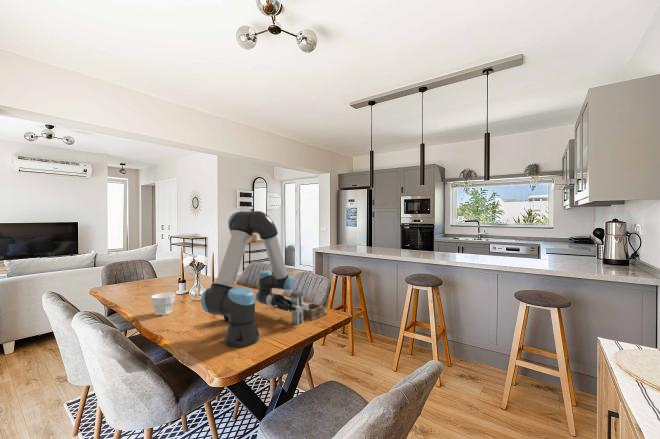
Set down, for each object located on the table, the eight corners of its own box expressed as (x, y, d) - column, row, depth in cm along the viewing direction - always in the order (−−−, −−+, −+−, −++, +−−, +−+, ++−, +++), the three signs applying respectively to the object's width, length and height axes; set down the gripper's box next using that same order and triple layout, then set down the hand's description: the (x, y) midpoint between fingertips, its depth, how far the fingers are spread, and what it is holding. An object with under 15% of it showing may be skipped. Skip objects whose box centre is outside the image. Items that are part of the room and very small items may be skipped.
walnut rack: (312, 320, 159) (312, 311, 159) (297, 315, 167) (297, 307, 167) (326, 314, 168) (326, 305, 168) (311, 310, 176) (311, 302, 176)
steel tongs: (297, 324, 153) (296, 294, 153) (290, 322, 157) (289, 292, 157) (303, 322, 157) (302, 292, 156) (296, 320, 160) (295, 290, 160)
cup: (180, 311, 177) (179, 293, 177) (160, 318, 166) (160, 299, 165) (166, 309, 182) (166, 291, 182) (146, 315, 171) (146, 296, 171)
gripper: (287, 303, 175) (316, 311, 159) (263, 311, 161) (292, 320, 146) (287, 290, 174) (316, 297, 159) (263, 297, 161) (291, 305, 146)
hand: (304, 308), depth 153 cm, fingers closed on steel tongs, 4 cm apart
